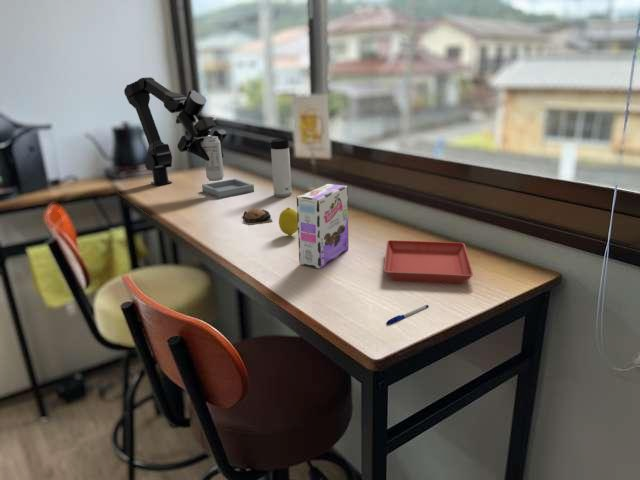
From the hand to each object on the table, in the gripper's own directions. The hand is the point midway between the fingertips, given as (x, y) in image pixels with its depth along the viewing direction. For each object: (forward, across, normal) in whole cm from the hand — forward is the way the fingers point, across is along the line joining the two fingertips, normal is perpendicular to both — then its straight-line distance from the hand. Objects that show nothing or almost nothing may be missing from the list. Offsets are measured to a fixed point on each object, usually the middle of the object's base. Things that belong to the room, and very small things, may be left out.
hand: (215, 158), depth 167 cm
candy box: (+56, -25, -38) cm, 72 cm away
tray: (+8, +6, +10) cm, 15 cm away
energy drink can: (+5, 0, +6) cm, 8 cm away
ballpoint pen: (+77, -39, -59) cm, 105 cm away
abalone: (+32, -12, -12) cm, 36 cm away
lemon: (+44, -18, -26) cm, 55 cm away
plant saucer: (+72, -18, -54) cm, 92 cm away
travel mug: (+23, +12, -5) cm, 27 cm away
